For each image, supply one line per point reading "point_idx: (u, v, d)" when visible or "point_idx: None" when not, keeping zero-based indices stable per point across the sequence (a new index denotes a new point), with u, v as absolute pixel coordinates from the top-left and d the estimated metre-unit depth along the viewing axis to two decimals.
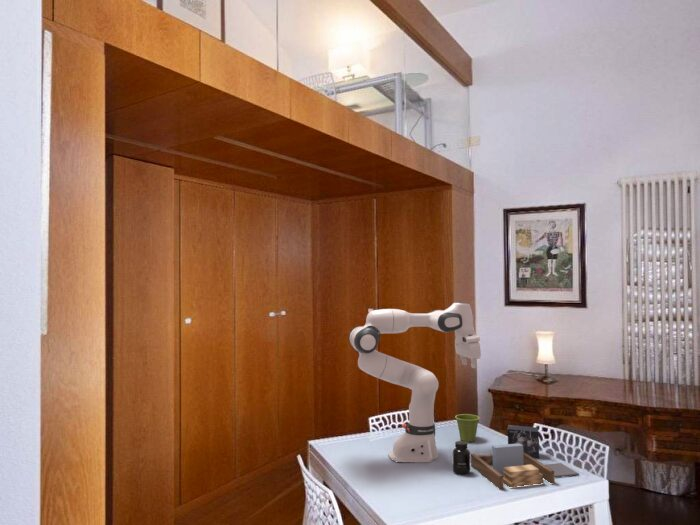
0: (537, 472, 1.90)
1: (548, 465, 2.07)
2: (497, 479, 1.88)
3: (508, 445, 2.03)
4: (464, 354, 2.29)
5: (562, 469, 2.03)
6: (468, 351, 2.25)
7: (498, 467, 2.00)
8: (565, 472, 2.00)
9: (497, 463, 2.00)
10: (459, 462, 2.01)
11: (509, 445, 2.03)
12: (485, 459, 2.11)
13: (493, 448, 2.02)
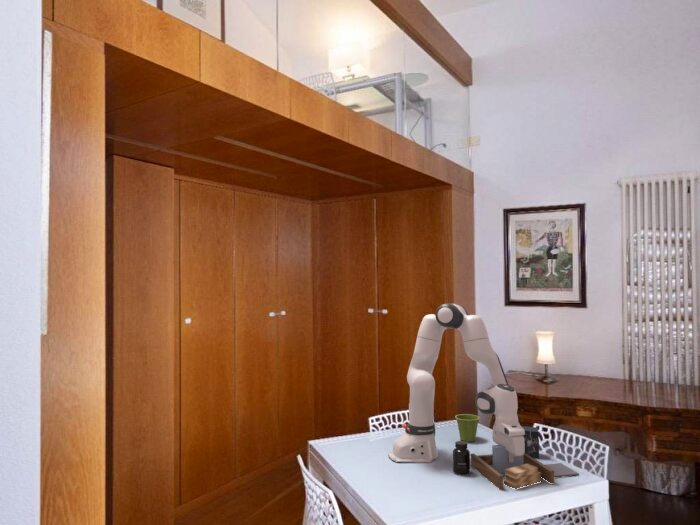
0: (536, 470, 1.92)
1: (548, 465, 2.07)
2: (497, 479, 1.88)
3: None
4: None
5: (562, 469, 2.03)
6: (510, 445, 1.97)
7: (498, 467, 2.00)
8: (565, 472, 2.00)
9: (497, 463, 2.00)
10: (459, 462, 2.01)
11: None
12: (485, 459, 2.11)
13: (493, 448, 2.02)
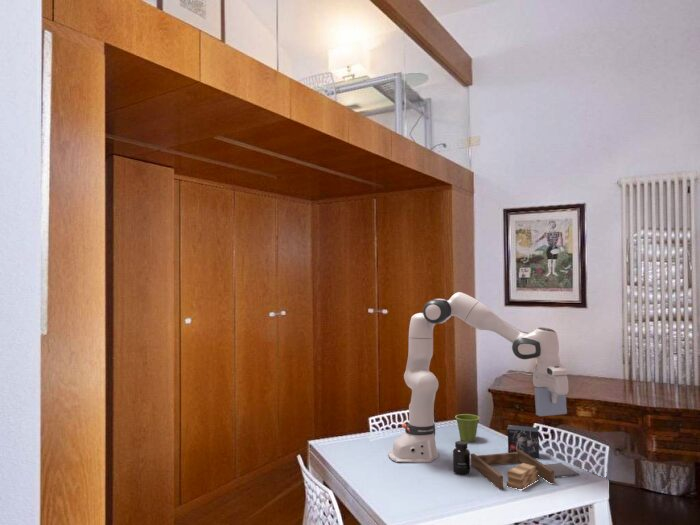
0: (534, 469, 1.93)
1: (548, 465, 2.07)
2: (497, 479, 1.88)
3: None
4: (547, 387, 2.03)
5: (562, 469, 2.03)
6: (553, 385, 1.99)
7: (542, 408, 2.02)
8: (565, 472, 2.00)
9: (540, 404, 2.02)
10: (459, 462, 2.01)
11: None
12: (485, 459, 2.11)
13: (536, 390, 2.04)
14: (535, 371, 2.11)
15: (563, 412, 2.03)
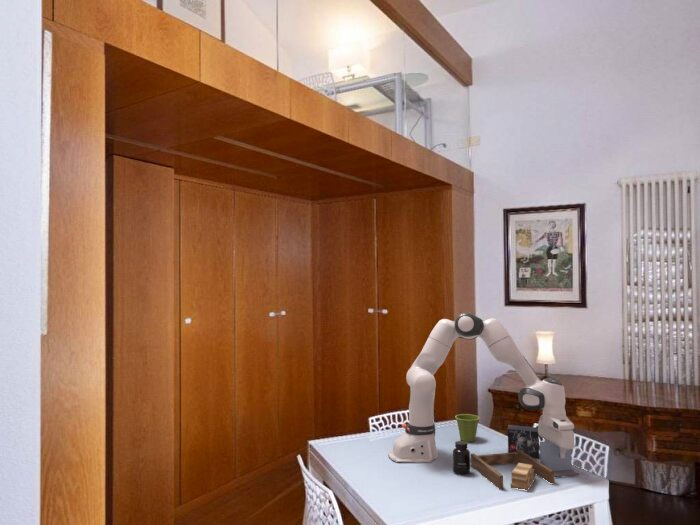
0: (532, 468, 1.94)
1: None
2: (497, 479, 1.88)
3: None
4: (552, 440, 2.02)
5: None
6: (558, 439, 1.98)
7: (547, 464, 2.01)
8: (565, 472, 2.00)
9: (545, 459, 2.01)
10: (459, 462, 2.01)
11: None
12: (485, 459, 2.11)
13: (541, 444, 2.03)
14: (540, 422, 2.10)
15: (568, 468, 2.02)
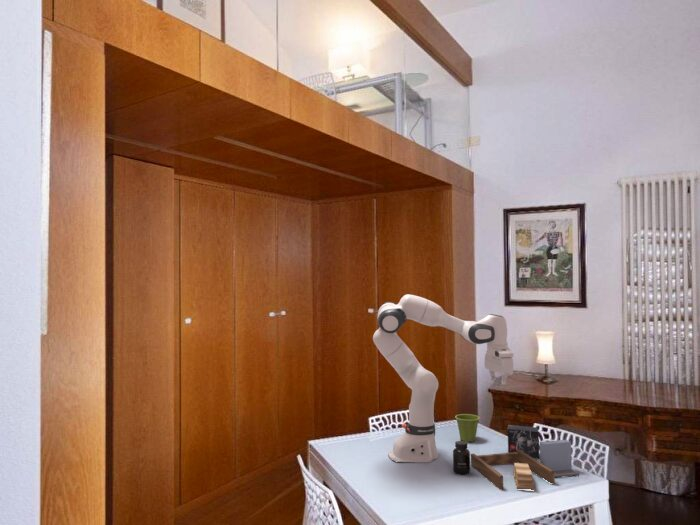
0: None
1: None
2: (497, 479, 1.88)
3: (556, 441, 2.04)
4: (495, 369, 2.19)
5: None
6: (500, 366, 2.15)
7: (547, 464, 2.01)
8: (565, 472, 2.00)
9: (545, 459, 2.01)
10: (459, 462, 2.01)
11: (556, 441, 2.03)
12: (485, 459, 2.11)
13: (541, 444, 2.03)
14: (486, 355, 2.28)
15: (568, 468, 2.02)
